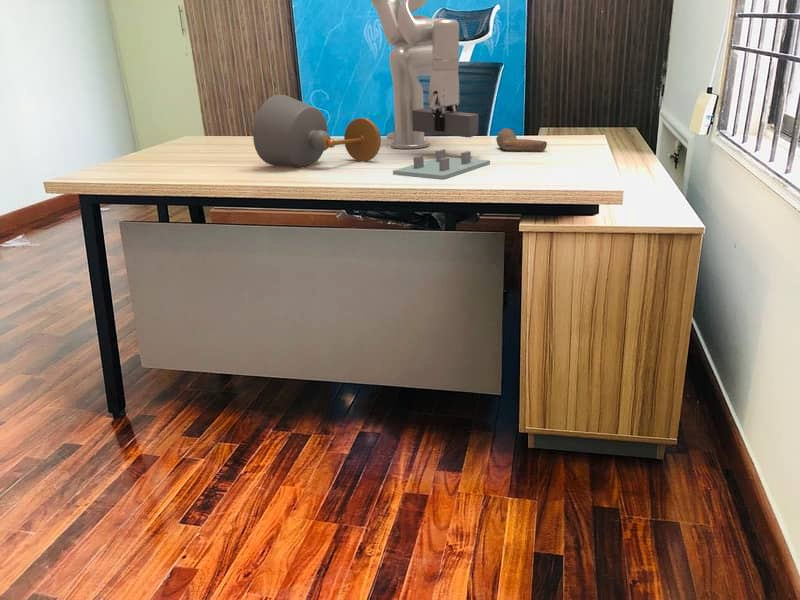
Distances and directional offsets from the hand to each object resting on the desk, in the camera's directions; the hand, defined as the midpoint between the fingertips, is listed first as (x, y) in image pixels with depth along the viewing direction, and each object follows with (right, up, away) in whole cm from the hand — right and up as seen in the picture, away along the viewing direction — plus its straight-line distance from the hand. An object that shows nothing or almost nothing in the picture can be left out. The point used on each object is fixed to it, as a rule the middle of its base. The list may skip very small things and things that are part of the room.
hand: (444, 128), depth 208 cm
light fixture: (-37, -12, -5) cm, 39 cm away
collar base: (-2, -15, -17) cm, 23 cm away
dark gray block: (0, -1, 0) cm, 1 cm away
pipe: (+24, -5, +9) cm, 26 cm away
